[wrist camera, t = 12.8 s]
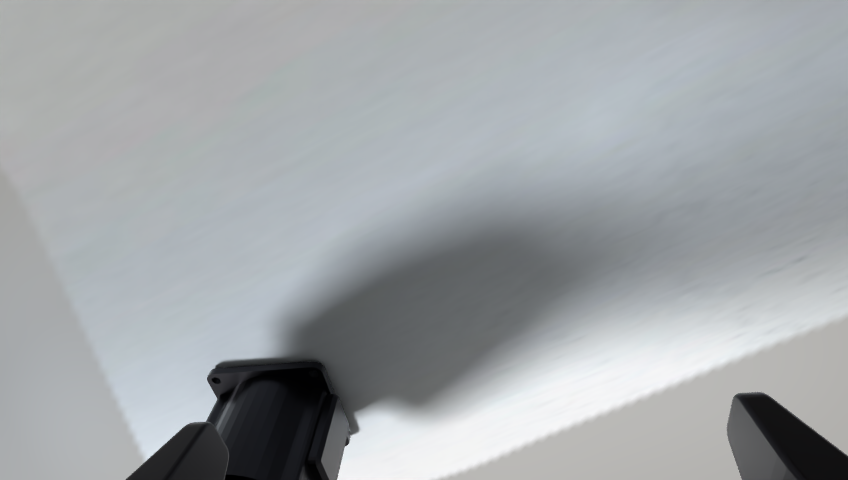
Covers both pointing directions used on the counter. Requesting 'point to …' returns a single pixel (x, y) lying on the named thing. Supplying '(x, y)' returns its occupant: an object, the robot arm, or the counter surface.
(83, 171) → the counter surface
